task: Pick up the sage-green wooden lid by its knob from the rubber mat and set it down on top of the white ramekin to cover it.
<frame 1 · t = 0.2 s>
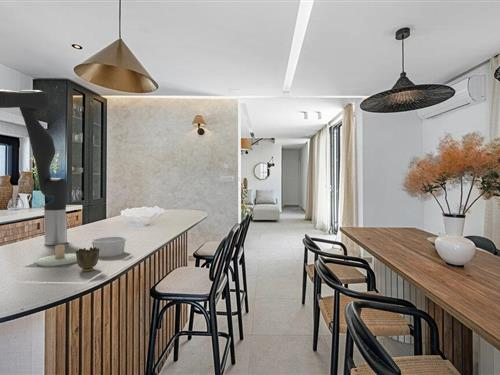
lid: (60, 261, 118), point 1 cm above the table, touching mat
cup: (87, 272, 106), on the table
mat: (60, 262, 118), on the table
ramekin: (109, 255, 131), on the table
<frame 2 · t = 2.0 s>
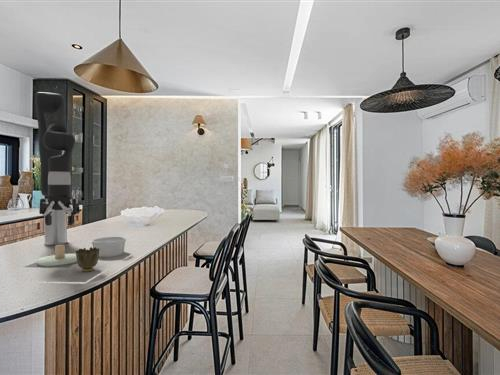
hand: (59, 225, 117), 15 cm above the table, fingers open, 8 cm apart
nothing on the table moved.
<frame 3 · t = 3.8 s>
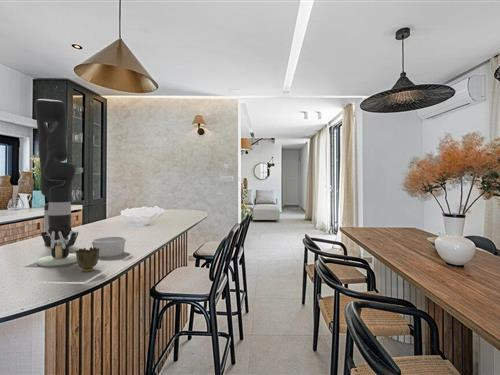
hand: (60, 257, 118), 2 cm above the table, fingers closed on lid, 3 cm apart
lid: (60, 261, 118), point 1 cm above the table, touching gripper, mat
everything else where it was.
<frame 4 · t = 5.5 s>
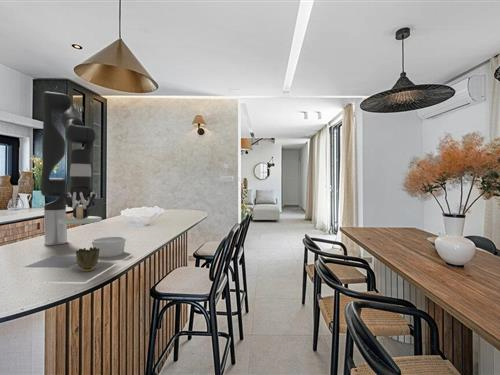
hand: (81, 217, 122), 17 cm above the table, fingers closed on lid, 3 cm apart
lid: (80, 221, 122), point 16 cm above the table, touching gripper
everything else where it was.
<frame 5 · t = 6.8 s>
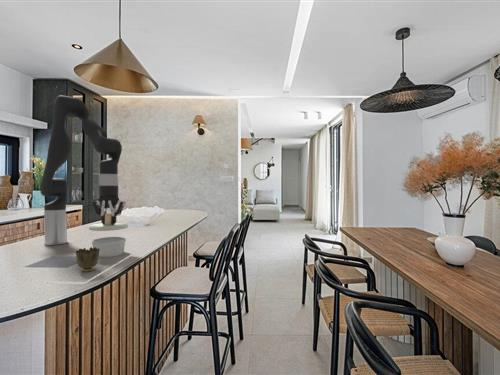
hand: (108, 224, 130), 13 cm above the table, fingers closed on lid, 3 cm apart
lid: (108, 227, 130), point 12 cm above the table, touching gripper
everything else where it was.
when the fingers open (10 cm above the table, at t = 7.6 s): lid drops 2 cm, resting on ramekin.
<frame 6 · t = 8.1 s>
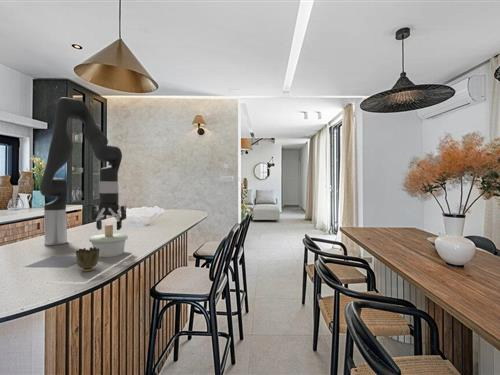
hand: (109, 229, 130), 11 cm above the table, fingers open, 8 cm apart
lid: (108, 239, 130), point 7 cm above the table, touching ramekin
ramekin: (109, 255, 130), on the table, touching lid
everything else where it was.
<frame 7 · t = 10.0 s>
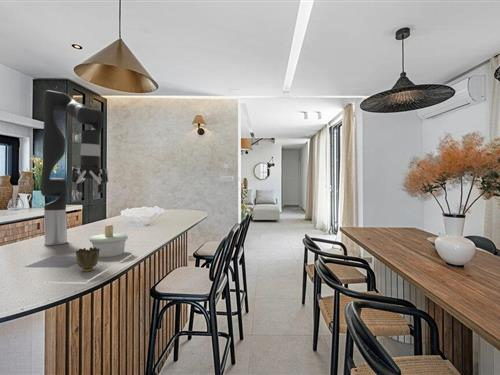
hand: (90, 192, 131), 27 cm above the table, fingers open, 8 cm apart
nothing on the table moved.
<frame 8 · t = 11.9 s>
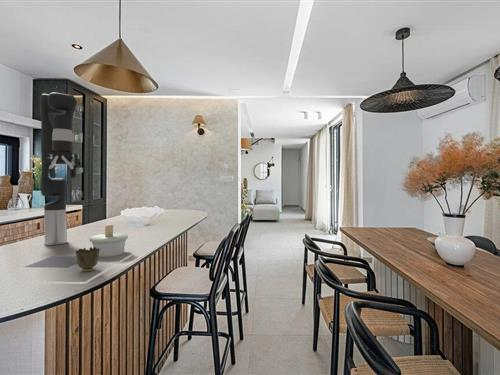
hand: (62, 178, 130), 33 cm above the table, fingers open, 8 cm apart
nothing on the table moved.
at the end: lid 0.1 cm off-centre on the ramekin, point 7.1 cm above the ramekin's base; lid tilted 0°; the gripper is holding nothing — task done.
